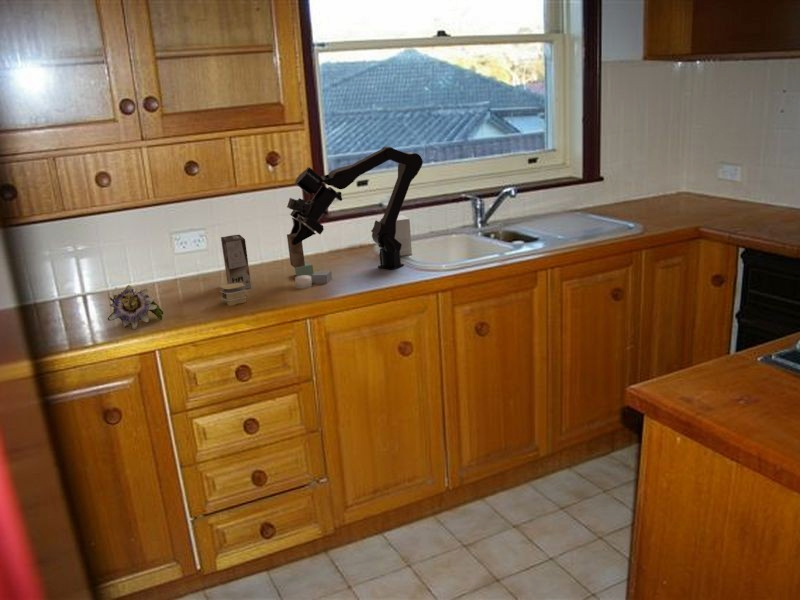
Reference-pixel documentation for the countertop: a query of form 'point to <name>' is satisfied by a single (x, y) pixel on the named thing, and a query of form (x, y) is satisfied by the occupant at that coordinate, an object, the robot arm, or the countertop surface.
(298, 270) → the green block
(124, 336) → the countertop surface
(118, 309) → the passion flower
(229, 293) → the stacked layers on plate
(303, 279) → the white tub
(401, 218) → the small box
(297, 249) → the walnut block
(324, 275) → the grey block
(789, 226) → the countertop surface
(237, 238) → the coffee box
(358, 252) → the countertop surface
